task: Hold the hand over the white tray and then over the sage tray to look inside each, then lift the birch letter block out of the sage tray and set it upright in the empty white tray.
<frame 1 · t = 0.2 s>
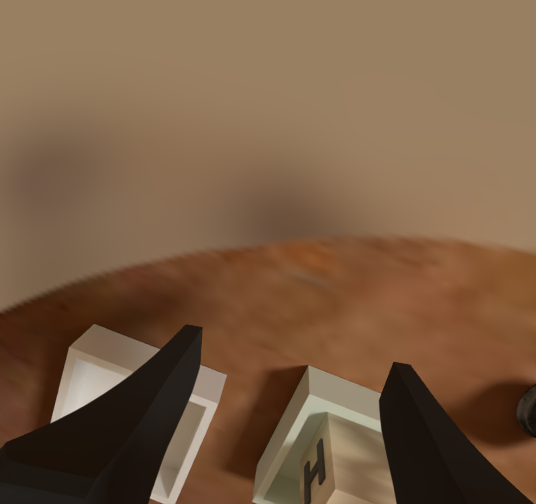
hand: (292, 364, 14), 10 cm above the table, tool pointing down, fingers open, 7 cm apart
letter block: (344, 448, 27), point 1 cm above the table, touching sage tray
sage tray: (343, 442, 28), on the table
white tray: (142, 402, 28), on the table
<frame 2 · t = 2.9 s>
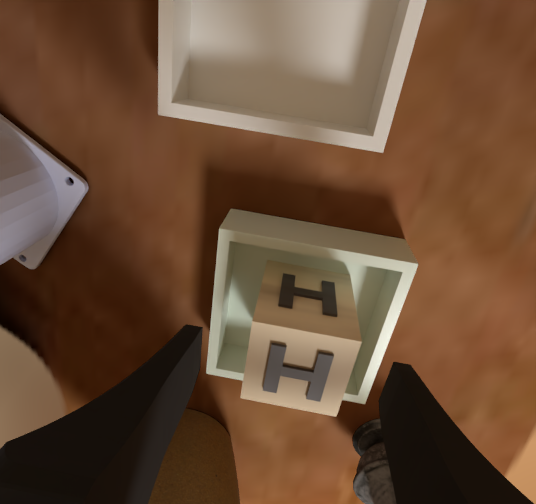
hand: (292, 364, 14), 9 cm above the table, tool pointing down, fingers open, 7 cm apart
letter block: (300, 301, 23), point 1 cm above the table, touching sage tray
salt shaker: (386, 439, 29), on the table
sage tray: (301, 296, 24), on the table
white tray: (292, 8, 17), on the table
plant pot: (188, 433, 31), on the table
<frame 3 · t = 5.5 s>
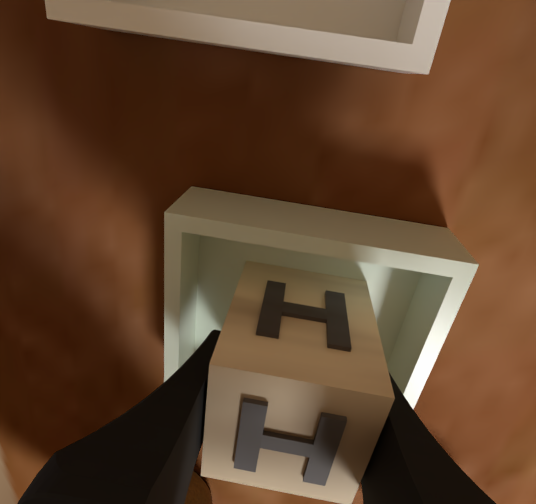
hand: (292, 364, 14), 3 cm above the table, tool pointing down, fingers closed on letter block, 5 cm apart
letter block: (295, 319, 16), point 1 cm above the table, touching gripper, sage tray
sage tray: (296, 311, 17), on the table
plant pot: (157, 483, 24), on the table
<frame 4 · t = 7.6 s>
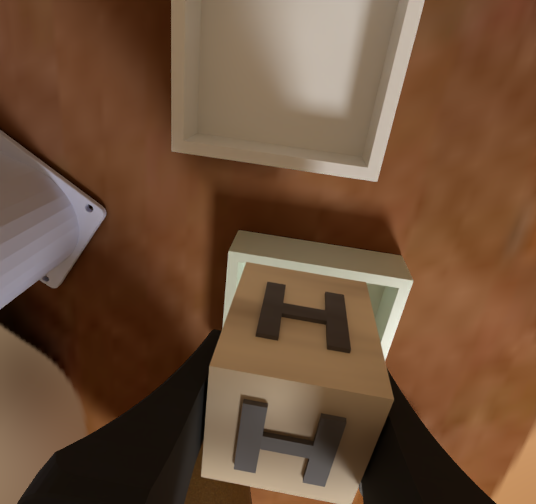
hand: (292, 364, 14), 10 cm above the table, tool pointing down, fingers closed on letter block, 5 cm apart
letter block: (295, 320, 16), point 8 cm above the table, touching gripper
sage tray: (305, 309, 25), on the table
white tray: (291, 51, 18), on the table
plant pot: (201, 439, 33), on the table
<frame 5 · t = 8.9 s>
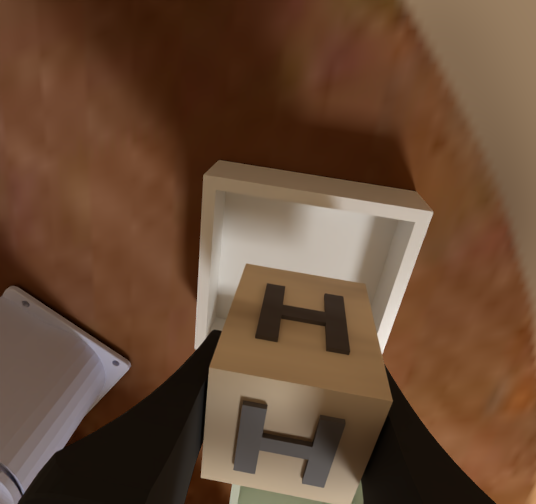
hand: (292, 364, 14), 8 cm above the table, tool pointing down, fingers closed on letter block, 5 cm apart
letter block: (295, 321, 16), point 5 cm above the table, touching gripper
sage tray: (307, 442, 28), on the table
white tray: (299, 261, 21), on the table
when the fingers open (4 cm above the table, at t = 10.0 s): letter block stays where it is, resting on white tray.
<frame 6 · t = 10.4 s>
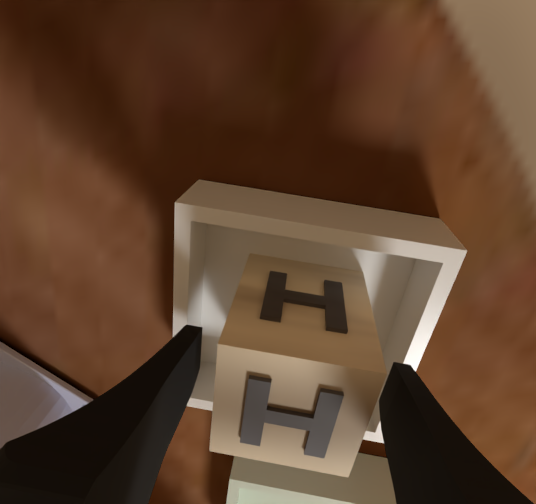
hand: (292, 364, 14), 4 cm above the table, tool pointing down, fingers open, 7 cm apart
letter block: (296, 308, 17), point 1 cm above the table, touching white tray
sage tray: (307, 494, 24), on the table
white tray: (297, 298, 18), on the table
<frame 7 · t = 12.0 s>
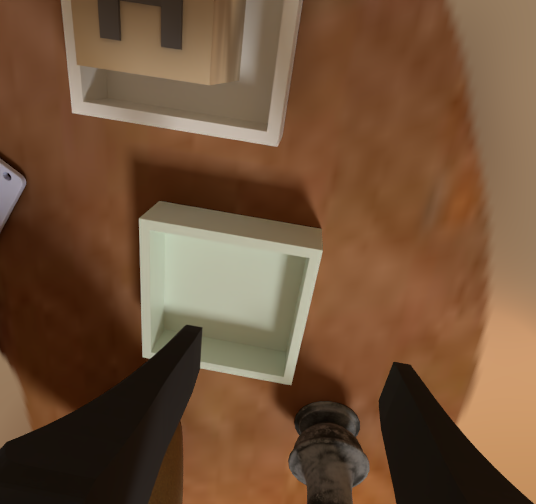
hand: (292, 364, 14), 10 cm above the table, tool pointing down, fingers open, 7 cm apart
letter block: (193, 15, 18), point 1 cm above the table, touching white tray
salt shaker: (326, 422, 30), on the table
sage tray: (232, 284, 25), on the table
white tray: (196, 14, 18), on the table
plant pot: (141, 419, 33), on the table
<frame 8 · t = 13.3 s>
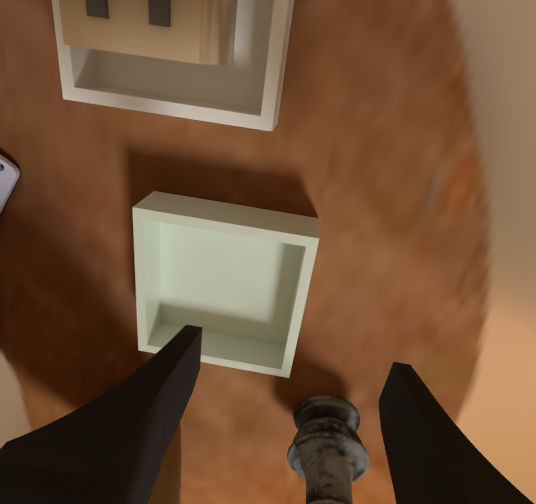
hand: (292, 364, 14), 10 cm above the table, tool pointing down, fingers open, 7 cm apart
salt shaker: (326, 416, 30), on the table
sage tray: (228, 275, 25), on the table
plant pot: (139, 414, 32), on the table
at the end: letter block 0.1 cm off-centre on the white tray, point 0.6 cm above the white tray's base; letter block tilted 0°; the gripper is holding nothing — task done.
